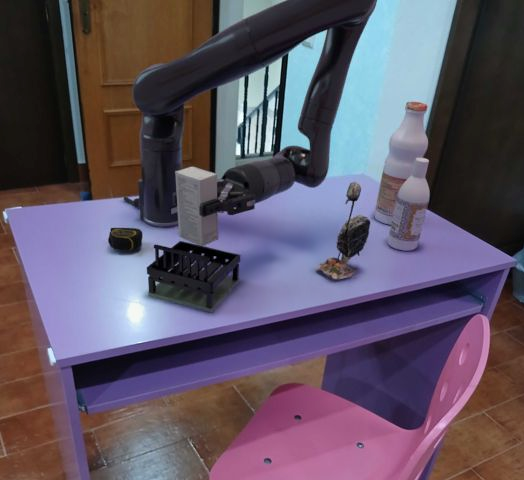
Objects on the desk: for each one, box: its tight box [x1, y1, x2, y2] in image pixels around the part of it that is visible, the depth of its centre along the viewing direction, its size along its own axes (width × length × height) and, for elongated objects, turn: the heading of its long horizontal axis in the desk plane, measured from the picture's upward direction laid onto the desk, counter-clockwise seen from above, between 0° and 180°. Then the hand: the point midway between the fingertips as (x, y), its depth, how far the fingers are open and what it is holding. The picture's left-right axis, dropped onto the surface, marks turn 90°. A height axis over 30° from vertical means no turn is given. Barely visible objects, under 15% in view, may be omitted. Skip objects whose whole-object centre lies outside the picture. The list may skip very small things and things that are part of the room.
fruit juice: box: [374, 101, 429, 226], centre depth 136 cm, size 9×9×28 cm
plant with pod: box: [315, 181, 373, 281], centre depth 112 cm, size 8×11×20 cm
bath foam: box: [387, 157, 431, 252], centre depth 125 cm, size 7×7×20 cm
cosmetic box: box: [175, 165, 219, 247], centre depth 98 cm, size 6×4×12 cm
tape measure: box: [107, 227, 143, 252], centre depth 118 cm, size 7×7×4 cm
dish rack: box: [146, 240, 242, 314], centre depth 104 cm, size 13×13×10 cm
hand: (187, 205), depth 96 cm, fingers closed on cosmetic box, 6 cm apart
